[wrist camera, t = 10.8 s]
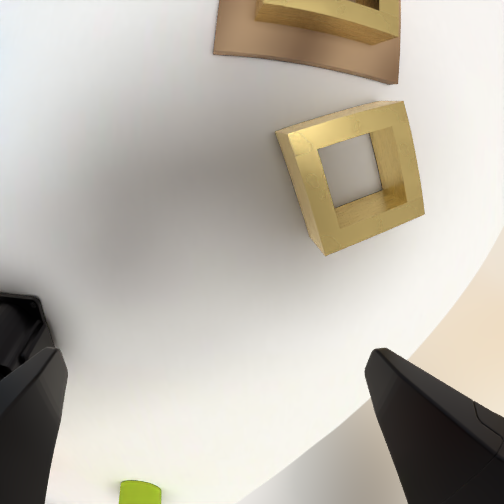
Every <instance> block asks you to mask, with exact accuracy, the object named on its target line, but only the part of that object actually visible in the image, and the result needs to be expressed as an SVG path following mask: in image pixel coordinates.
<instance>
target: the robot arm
mask: <svg viewBox="0 0 504 504" xmlns="http://www.w3.org/2000/svg"><path fill="white" fill-rule="evenodd" d="M33 303H34V304H35V305H34V304H33ZM67 378H68V371H67V367H66V364H65V362H64V359H63V356H62V353H61V351H60V350H59V349H58V348H55V347H54V344H53V341H52V338H51V335H50V332H49V329H48V326H47V324H46V321H45V318H44V314H43V311H42V307H41V304H40V301H39V300H38V299H37V298H36V297H32V296H22V295H12V294H3V293H0V504H45V497H46V491H47V484H48V479H49V473H50V468H51V463H52V458H53V453H54V448H55V444H56V439H57V435H58V431H59V426H60V422H61V416H62V409H63V402H64V396H65V390H66V384H67ZM365 378H366V382H367V385H368V389H369V392H370V396H371V400H372V403H373V407H374V411H375V414H376V417H377V420H378V423H379V425H380V428H381V430H382V433H383V436H384V438H385V441H386V443H387V446H388V449H389V451H390V454H391V457H392V459H393V462H394V465H395V468H396V470H397V473H398V476H399V479H400V482H401V484H402V487H403V490H404V493H405V496H406V499H407V502H408V504H504V417H502V416H500V415H498V414H496V413H494V412H492V411H490V410H489V409H487V408H485V407H483V406H482V405H480V404H478V403H477V402H475V401H473V400H471V399H470V398H468V397H467V396H465V395H463V394H462V393H460V392H458V391H456V390H455V389H453V388H452V387H450V386H448V385H446V384H445V383H443V382H442V381H440V380H438V379H437V378H435V377H433V376H432V375H430V374H429V373H427V372H425V371H424V370H422V369H420V368H419V367H417V366H415V365H413V364H412V363H410V362H409V361H407V360H405V359H404V358H402V357H401V356H399V355H397V354H396V353H394V352H392V351H391V350H389V349H387V348H377V349H374V350H373V351H372V352H371V355H370V357H369V360H368V362H367V365H366V367H365Z"/></svg>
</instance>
